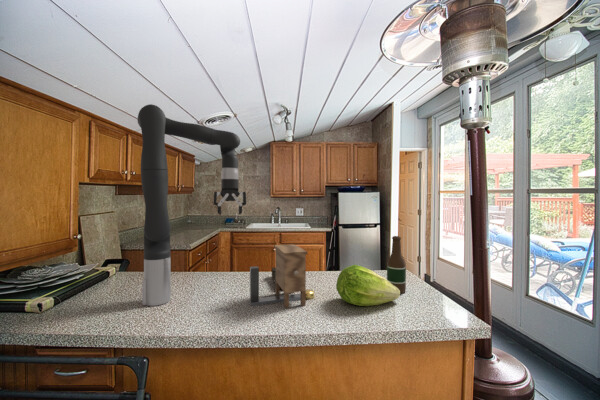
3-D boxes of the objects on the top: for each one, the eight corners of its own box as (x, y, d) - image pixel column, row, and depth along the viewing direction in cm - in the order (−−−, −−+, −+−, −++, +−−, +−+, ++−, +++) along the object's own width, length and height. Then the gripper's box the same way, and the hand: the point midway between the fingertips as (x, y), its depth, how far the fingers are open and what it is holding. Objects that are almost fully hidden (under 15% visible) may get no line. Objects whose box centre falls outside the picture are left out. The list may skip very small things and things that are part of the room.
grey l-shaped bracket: (251, 306, 103) (251, 269, 103) (249, 302, 107) (249, 266, 107) (303, 299, 109) (303, 264, 109) (300, 296, 113) (300, 262, 113)
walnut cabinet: (284, 309, 100) (284, 253, 99) (274, 293, 116) (274, 245, 116) (307, 306, 102) (308, 251, 102) (294, 291, 119) (294, 244, 119)
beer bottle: (386, 292, 117) (386, 237, 117) (387, 287, 125) (387, 234, 124) (405, 295, 114) (405, 238, 114) (405, 289, 122) (406, 235, 121)
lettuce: (383, 305, 116) (397, 328, 100) (330, 286, 114) (336, 306, 98) (397, 274, 114) (414, 292, 98) (343, 255, 112) (351, 270, 96)
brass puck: (304, 300, 109) (304, 294, 109) (300, 296, 114) (300, 290, 114) (315, 299, 110) (315, 292, 110) (311, 294, 115) (311, 288, 115)
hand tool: (287, 291, 120) (288, 278, 120) (277, 291, 119) (277, 279, 119) (279, 276, 142) (279, 266, 142) (270, 277, 141) (270, 266, 141)
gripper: (213, 177, 117) (213, 215, 117) (247, 178, 121) (247, 215, 121) (213, 178, 124) (213, 214, 124) (245, 179, 128) (245, 214, 128)
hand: (230, 214), depth 123 cm, fingers open, 8 cm apart
